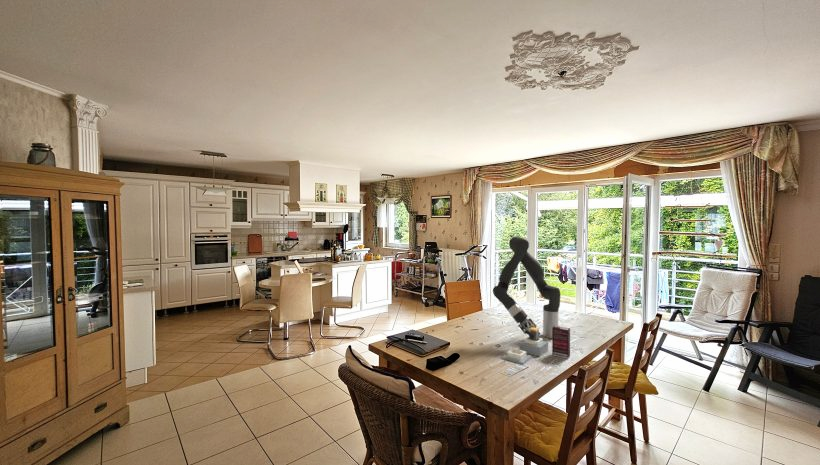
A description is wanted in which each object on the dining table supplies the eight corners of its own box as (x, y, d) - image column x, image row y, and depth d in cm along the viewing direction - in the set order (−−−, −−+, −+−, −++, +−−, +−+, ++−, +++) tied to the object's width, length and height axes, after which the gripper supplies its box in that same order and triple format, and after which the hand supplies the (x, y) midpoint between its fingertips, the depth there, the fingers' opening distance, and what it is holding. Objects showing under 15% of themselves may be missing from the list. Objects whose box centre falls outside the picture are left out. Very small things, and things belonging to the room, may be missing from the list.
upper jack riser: (519, 351, 192) (519, 339, 191) (527, 345, 201) (527, 334, 200) (540, 356, 184) (540, 344, 183) (548, 350, 193) (548, 338, 192)
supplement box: (570, 356, 184) (570, 328, 184) (568, 359, 180) (568, 330, 180) (553, 352, 189) (554, 325, 189) (551, 355, 186) (552, 327, 185)
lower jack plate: (501, 358, 181) (501, 352, 181) (511, 352, 190) (511, 346, 190) (523, 364, 173) (523, 357, 173) (532, 357, 182) (532, 351, 182)
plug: (529, 342, 192) (529, 328, 192) (531, 340, 195) (532, 327, 195) (536, 343, 189) (536, 330, 189) (538, 342, 192) (538, 328, 192)
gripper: (516, 311, 191) (536, 336, 184) (526, 307, 202) (545, 330, 194) (507, 319, 195) (527, 343, 187) (518, 314, 206) (536, 337, 198)
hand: (536, 336), depth 191 cm, fingers open, 7 cm apart
